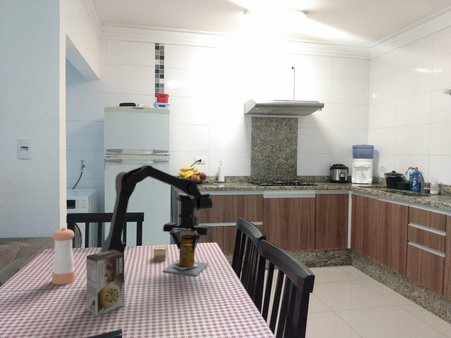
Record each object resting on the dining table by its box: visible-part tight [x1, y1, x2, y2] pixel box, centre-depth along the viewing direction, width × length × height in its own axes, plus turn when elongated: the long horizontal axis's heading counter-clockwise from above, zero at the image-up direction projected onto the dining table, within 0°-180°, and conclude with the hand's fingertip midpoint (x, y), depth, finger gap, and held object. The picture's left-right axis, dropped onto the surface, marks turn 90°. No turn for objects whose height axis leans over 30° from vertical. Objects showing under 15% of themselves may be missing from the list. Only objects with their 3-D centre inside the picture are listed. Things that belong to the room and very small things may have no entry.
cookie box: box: [86, 250, 126, 316], centre depth 100 cm, size 9×6×16 cm
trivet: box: [162, 259, 210, 277], centre depth 136 cm, size 14×14×1 cm
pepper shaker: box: [51, 227, 76, 285], centre depth 120 cm, size 7×7×19 cm
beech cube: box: [153, 245, 168, 261], centre depth 148 cm, size 5×5×5 cm
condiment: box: [171, 234, 198, 270], centre depth 136 cm, size 7×8×12 cm
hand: (186, 249), depth 136 cm, fingers closed on condiment, 6 cm apart
